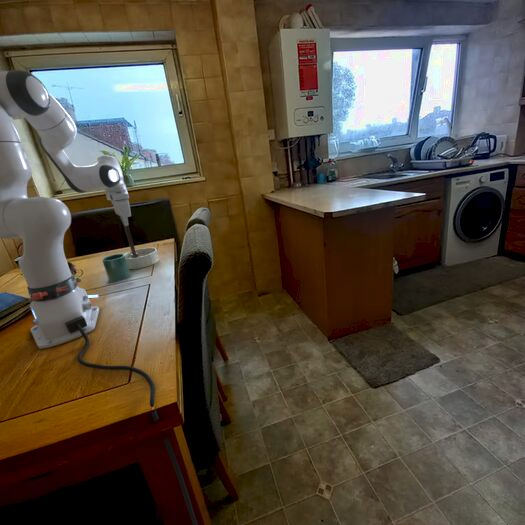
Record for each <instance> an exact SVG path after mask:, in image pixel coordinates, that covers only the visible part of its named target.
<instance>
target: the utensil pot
mask: <svg viewBox="0 0 525 525" xmlns="http://www.w3.org/2000/svg"><path fill="white" fill-rule="evenodd" d="M124 254H125V253H115V254H111V255H107V256H105V257H103V258H102V259H101V261H102V264H103V267H104V270H105V274H106V276H107V279H108V281H109V283H118V282H121V281H125V280H126V279H128V278H130V277H131V271H130V269H129V268H128V264H127V261H126V258H125V255H124Z"/></svg>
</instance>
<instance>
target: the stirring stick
mask: <svg viewBox="0 0 525 525" xmlns="http://www.w3.org/2000/svg"><path fill="white" fill-rule="evenodd" d="M122 220H123V219H122ZM122 220H121V221H122ZM123 224H124V223H122V225H123ZM123 228H124V231H125V234H126V238H127V241H128V245H129V248H130V251H131V252H132V254H131V257H132V258H137V257H138V254H137V253H136V251H135V250H136V248H135V244H134V241H133V237H132V233H131V230H130V226H129V225H128V226H125V225H123Z"/></svg>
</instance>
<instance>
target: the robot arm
mask: <svg viewBox="0 0 525 525" xmlns="http://www.w3.org/2000/svg"><path fill="white" fill-rule="evenodd" d="M23 119H25V120H26V121H27V122H28V123H29V124H30V126H31V127H32V128H33V129H34V130H35V131H36V132H37V134H38V135H39V137H38V142H39V146H40V147H41V149H42V150H43V152H44V153H45V155H46V156H47V157H48V158H49V160H50V161H51V162H52V163H53V165H54V166H55V168H56V169H57V171H59V173H60V174H61V175H62V177H63V178H64V181H65V182H66V184H67V185H68V187H69V188H70V189H71V190H73V191H74V192H75V193H78V194H83V193H89V192H92V191H101V190H104V194H105V197H106V200H107V201H110V202H111V204H112V205H113V206H112V207H113V210H114V213H115V215H117V216H119V218H120V220H121V222H122V225H123V226H124V225H125V226H129V225H130V224H129V217H132V212H131V206H130V201H129V199H130V196H129V192H128V188H127V185H126V183H125V180H124V173H123V170H122V168H121V164H120V163H119V160H118V158H117V157H115V156H114V155H100V156H98V157H97V158H96V159H97V160H96V163H94V164H92V165H84V166H79V165H76V164H74V163H73V162H72V160H71V159H70V158H69V156H68V155H67V153H66V152H65V149H66V148H68V147H69V146H71V144H72V143H73V142H74V141H75V138H76V136H77V126H76V124H75V122H74V120H73V119H72V117H71V116H70V115H69V114H68V112H67V111H66V110H65V108H64V107H63V106H62V105H61V103H60V102H58V100H57V99H56V98H55V96H53V95H52V94H51V93H50V92H49V91H48V89H47V87H46V86H45V84H44V83H43V82H42V80H40V79H39V78H38V77H37V76H35V75H33V74H32V73H31V72H29V71H26V70H22V69H11V70H3V71H2V70H0V239H6V240H14V239H15V240H16V239H21V241H22V246H23V247H22V248H23V253H22V255H21V257H19V260H18V267H19V269H20V271H21V273H22V276H23V278H24V280H25V283H26V284H27V293H28V295H29V297H30V300H31V302H30V304H28V306H29V308H30V310H31V313H32V315H33V317H34V319H33V320H32V323H33V325H34V326H32V327H30V333H31V335H32V337H33V340H34V342H35V344H36V346H37V348H38V349H39V350H43V349H48V348H53V347H56V346H60V345H63V344H65V343H68V342H70V341H71V342H72V341H73V340H75V339H78V338H81V337H83V339H84V341H85V345H84V347H83V349H82V350H81V351H80V353H79V354H78V356H77V361H78V363H79V364H80V365H82V366H83V367H86V368H92V369H98V370H99V369H100V370H106V371H107V370H108V371H109V370H112V371H113V370H114V371H115V370H116V371H117V370H119V371H120V370H123V371H124V370H125V371H129V372H133V373H136V374H138V375H140V376H141V377H143V378H144V379H145V380H146V382H147V383H148V385H149V387H150V395H149V396H150V397H149V407H150V406H151V407H153V406H154V402H155V397H156V386H155V385H156V384H155V383H154V381H153V379H152V377H151V376H150V375H148V373H146V372H145V371H143V370H142V369H139V368H137V367H134V366H130V365H104V364H97V363H90V362H87V361H85V360H84V359H83V356H84V354H86V352H87V350H88V349H89V346H90V339H89V336H88V333H89V334H90V333H91V332H92V331H94V330H95V329H96V326H97V322H98V317H99V313H100V310H101V308H100V307H99V306H98V305H94V306H93V305H92V303H91V301H90V298H92V299H93V298H99V294H91V295H88V293H87V291H86V289H85V288H82V287H80V286H78V283H77V278H76V277H75V276H74V274H73V273H72V274H71V272H70V269H69V266H68V263H67V262H68V260H67V258H66V255H65V254H66V253H65V250H64V238H65V234H66V232H67V230H68V229H69V228H70V226H71V224H72V215H71V211H70V209H69V208H68V206H67V205H66V204H65V203H64V202H63V201H61V200H60V199H57V198H51V197H44V196H31V197H28V184H29V181H30V180H31V178H32V176H33V170H32V166H31V165H30V164H31V163H30V162H29V159H28V156H27V153H26V151H25V149H24V146H23V144H22V141H21V138H20V136H19V133H18V131H17V129H16V127H15V125H14V123H13V121H15V120H23ZM122 219H123V220H122ZM123 223H124V224H123ZM154 386H155V387H154ZM150 413H151V417H152V420H153V421H154V422H157V421H158V420H159V415H158V413H157V409H156V408H155V412H151V411H150ZM163 443H164V445H165V448H166V450H167V452H168V455H169V458H170V461H171V464H172V465H173V466H172V467H173V468H174V471H175V474H176V477H177V480H178V482H179V486H180V489H181V491H182V494H183V498H184V501H185V504H186V507H187V510H188V513H189V514H188V515H189V517H190V520H191V523H192V525H199V524H198V521H197V518H196V515H195V512H194V509H193V505H192V503H191V499H190V496H189V492H188V489H187V486H186V483H185V480H184V477H183V474H182V470H181V468H180V465H179V462H178V460H177V457H176V454H175V453H174V449H173V447H172V444H171V441H170V439H169V437H167V438H166V439H163Z"/></svg>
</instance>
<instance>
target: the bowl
mask: <svg viewBox="0 0 525 525" xmlns="http://www.w3.org/2000/svg"><path fill="white" fill-rule="evenodd" d="M135 251H136V253H137V254H138V257H137V258H132V257H131V254H132V252H131V250H129V251H126V252H125V253H123V254H124V255H125V258H126V261H127V264H128V268H129V270H137V269H143V268H147V267H150V266H153V265H155V264H156V263H158V262H159V261H160V256H159V252H158V249H157V248H156V247H151V246H149V247H141V248H137V249H136V248H135Z"/></svg>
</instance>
